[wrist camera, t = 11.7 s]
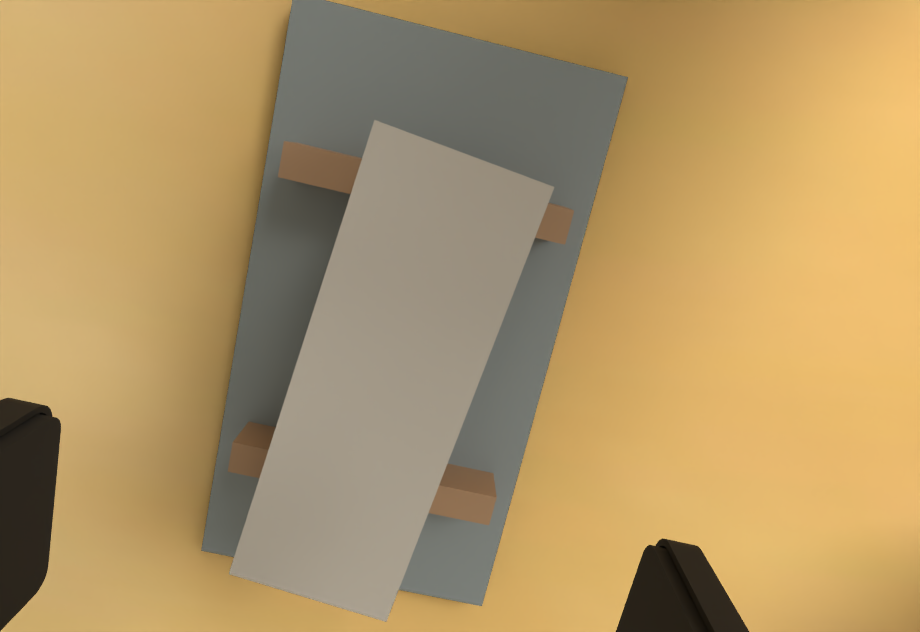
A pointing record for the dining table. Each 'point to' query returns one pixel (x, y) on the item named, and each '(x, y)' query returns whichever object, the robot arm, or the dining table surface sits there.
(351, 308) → the light grey block
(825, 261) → the dining table surface
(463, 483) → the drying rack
